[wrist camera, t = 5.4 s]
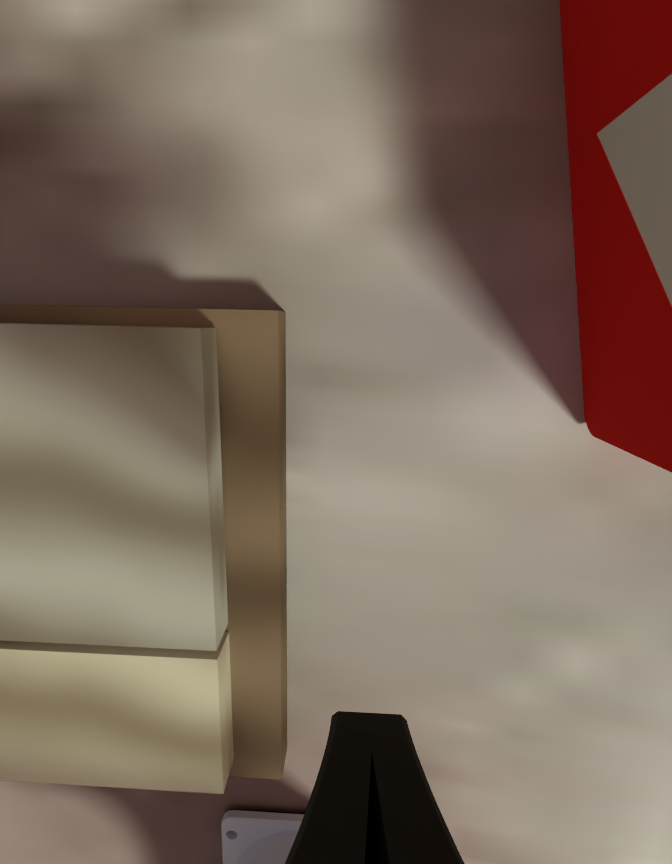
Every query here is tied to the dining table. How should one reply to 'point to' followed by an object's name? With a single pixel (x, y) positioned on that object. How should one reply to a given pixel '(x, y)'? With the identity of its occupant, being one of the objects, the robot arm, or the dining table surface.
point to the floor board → (239, 502)
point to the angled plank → (111, 486)
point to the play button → (622, 215)
